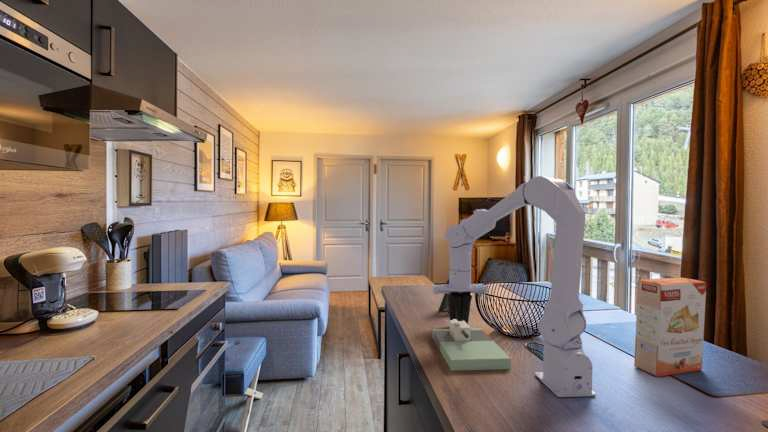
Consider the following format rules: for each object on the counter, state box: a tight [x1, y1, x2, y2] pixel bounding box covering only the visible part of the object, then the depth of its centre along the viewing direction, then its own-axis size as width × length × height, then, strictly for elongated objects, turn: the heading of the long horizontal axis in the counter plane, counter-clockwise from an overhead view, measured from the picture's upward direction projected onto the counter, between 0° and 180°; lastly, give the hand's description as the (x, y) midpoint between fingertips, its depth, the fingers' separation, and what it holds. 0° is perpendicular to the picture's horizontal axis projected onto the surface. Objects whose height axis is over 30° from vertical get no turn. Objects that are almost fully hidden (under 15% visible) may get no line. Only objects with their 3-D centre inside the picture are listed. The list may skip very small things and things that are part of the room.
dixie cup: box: [447, 293, 474, 325], centre depth 108 cm, size 8×8×11 cm
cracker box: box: [633, 277, 707, 378], centre depth 81 cm, size 14×6×21 cm, turn 105°
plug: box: [448, 319, 472, 342], centre depth 92 cm, size 10×4×6 cm, turn 4°
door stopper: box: [438, 279, 449, 314], centre depth 125 cm, size 9×6×12 cm, turn 57°
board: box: [432, 327, 512, 372], centre depth 90 cm, size 20×14×2 cm
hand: (459, 319), depth 94 cm, fingers closed
